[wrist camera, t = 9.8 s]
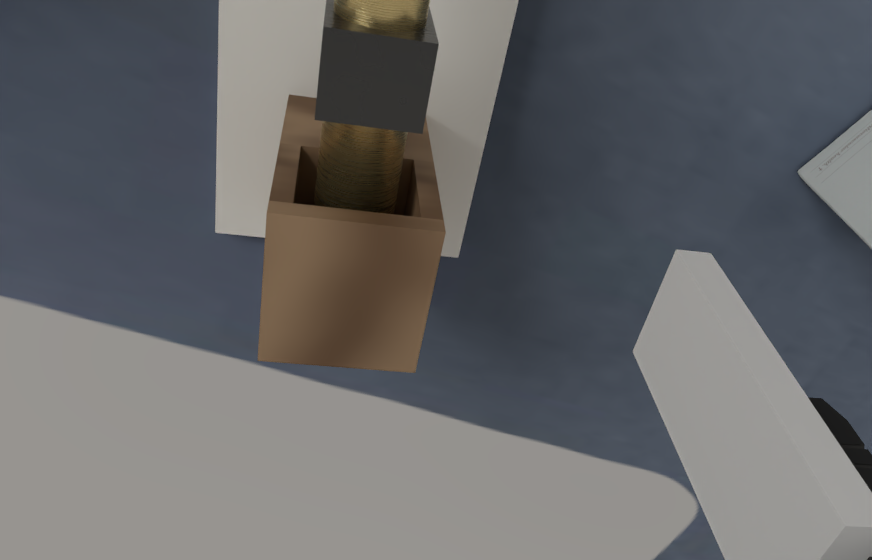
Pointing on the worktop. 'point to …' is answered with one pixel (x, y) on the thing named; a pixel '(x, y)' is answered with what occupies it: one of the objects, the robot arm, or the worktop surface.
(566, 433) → the worktop surface
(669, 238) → the worktop surface
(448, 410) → the worktop surface
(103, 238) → the worktop surface
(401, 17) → the brass rod
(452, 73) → the base board
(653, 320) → the robot arm
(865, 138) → the supplement box
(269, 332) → the walnut socket
